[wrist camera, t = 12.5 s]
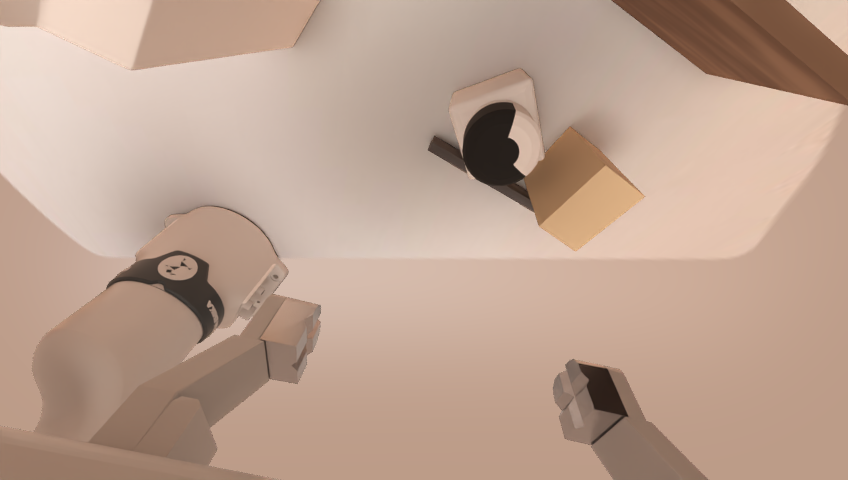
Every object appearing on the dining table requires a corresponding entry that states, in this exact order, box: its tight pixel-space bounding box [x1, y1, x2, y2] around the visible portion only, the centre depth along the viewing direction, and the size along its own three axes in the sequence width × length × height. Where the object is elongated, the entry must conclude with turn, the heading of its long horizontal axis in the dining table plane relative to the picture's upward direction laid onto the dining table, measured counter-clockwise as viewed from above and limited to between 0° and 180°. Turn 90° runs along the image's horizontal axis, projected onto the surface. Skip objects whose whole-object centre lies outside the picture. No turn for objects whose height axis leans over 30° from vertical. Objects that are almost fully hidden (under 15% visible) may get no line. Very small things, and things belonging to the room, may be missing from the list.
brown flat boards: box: [428, 0, 848, 213], centre depth 27 cm, size 20×19×14 cm
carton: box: [524, 127, 645, 251], centre depth 31 cm, size 5×7×11 cm
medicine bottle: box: [449, 68, 545, 186], centre depth 29 cm, size 7×7×12 cm
